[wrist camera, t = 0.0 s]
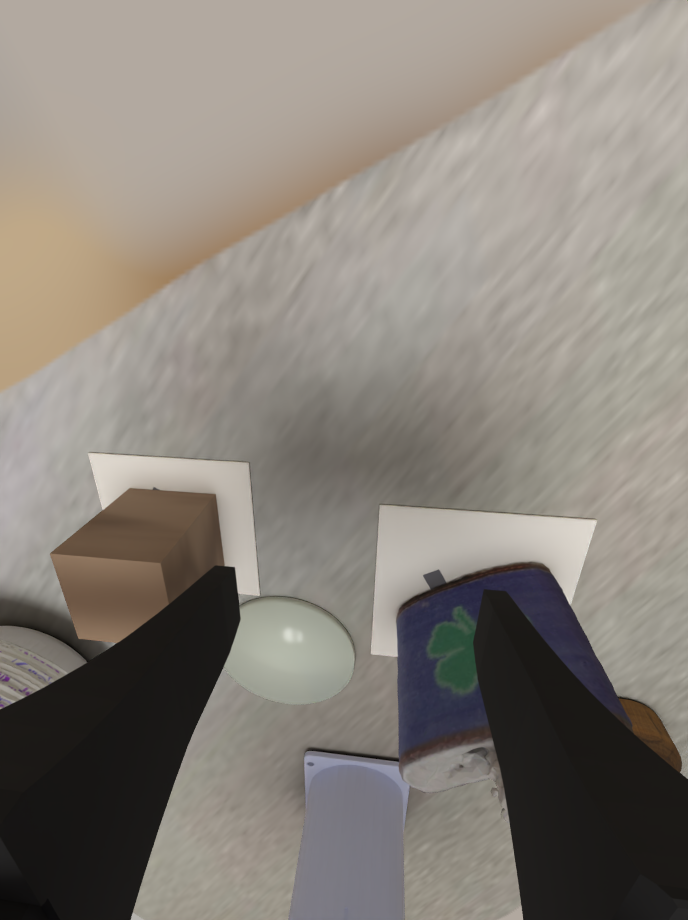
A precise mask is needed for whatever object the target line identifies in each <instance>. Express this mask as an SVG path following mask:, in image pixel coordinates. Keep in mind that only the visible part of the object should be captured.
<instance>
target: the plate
mask: <svg viewBox="0 0 688 920" xmlns="http://www.w3.org/2000/svg"><path fill="white" fill-rule="evenodd" d="M239 608H240V617H241V620H240V623H239V626H238V630H237V633H236V636H235V639H234V642H233V645H232V648H231V651H230V654H229V656H228V658H227V660H226V663H225V665H224V668H225V670H226V671H227V672H228V674H229V675H230V676H231V677H232V678H233V679H234V680H235V681H236V682H237V683H238V684H240V685H241V686H242V687H244V688H245V689H246V690H248V691H250V692H252V693H253V694H255V695H257V696H260V697H262V698H265V699H268V700H270V701H274V702H278V703H284V704H294V705H304V704H312V703H317V702H321V701H324V700H327V699H329V698H331V697H333V696H335V695H336V694H338V693H339V692H340V691H341V690H342V689H344V688H345V686H346V685H347V684H348V683H349V681H350V679H351V677H352V674H353V670H354V662H355V649H354V645H353V642H352V639H351V637H350V635H349V634H348V632H347V630H346V629H345V628H344V627H343V625H342V624H341V623H340V622H339V621H338V620H337V619H336V618H335V617H333V616H332V615H331V614H329V613H328V612H327V611H325V610H323V609H322V608H320V607H318V606H316V605H313V604H311V603H308V602H306V601H303V600H299V599H295V598H289V597H263V598H258V599H254V600H251V601H248V602H246V603H244V604H242V605H240V606H239Z"/></svg>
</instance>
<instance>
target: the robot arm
mask: <svg viewBox="0 0 688 920" xmlns="http://www.w3.org/2000/svg"><path fill="white" fill-rule="evenodd" d="M240 620H241V617H240V608H239V599H238V590H237V580H236V571H235V567H229V566H218V565H215V566H214V567H213V568H211V569H210V570H209V571H208V572H207V573H205V574H204V575H203V576H202V577H201V578H199V579H198V580H197V581H196V582H195V583H194V584H192V585H191V586H190V587H189V588H188V589H186V590H185V591H184V592H183V593H182V594H181V595H179V596H178V597H177V598H176V599H175V600H173V601H172V602H171V603H170V604H168V605H167V606H166V607H165V608H163V609H162V610H161V611H160V612H159V613H157V614H156V615H155V616H153V617H152V618H151V619H149V620H148V621H147V622H145V623H144V624H143V625H141V626H140V627H139V628H138V629H136V630H135V631H134V632H132V633H131V634H130V635H128V636H127V637H125V638H124V639H122V640H121V641H120V642H118V643H117V644H115V645H114V646H112V647H111V648H109V649H108V650H106V651H105V652H103V653H101V654H100V655H98V656H97V657H95V658H94V659H92V660H91V661H89V662H87V663H86V664H84V665H82V666H81V667H79V668H77V669H75V670H74V671H72V672H70V673H68V674H67V675H65V676H63V677H61V678H59V679H58V680H56V681H54V682H52V683H51V684H49V685H47V686H45V687H44V688H42V689H40V690H38V691H36V692H34V693H32V694H30V695H28V696H26V697H24V698H22V699H20V700H18V701H16V702H14V703H12V704H10V705H8V706H6V707H4V708H2V709H0V920H131V916H132V913H133V909H134V906H135V903H136V899H137V896H138V893H139V889H140V886H141V883H142V879H143V876H144V873H145V870H146V867H147V864H148V861H149V857H150V854H151V851H152V848H153V845H154V842H155V839H156V836H157V832H158V829H159V826H160V823H161V820H162V818H163V815H164V812H165V809H166V806H167V803H168V800H169V797H170V794H171V791H172V788H173V785H174V782H175V780H176V777H177V774H178V771H179V769H180V766H181V763H182V760H183V757H184V755H185V752H186V749H187V746H188V744H189V742H190V739H191V737H192V734H193V732H194V730H195V727H196V725H197V723H198V721H199V719H200V717H201V714H202V712H203V710H204V708H205V706H206V704H207V702H208V699H209V697H210V695H211V693H212V691H213V689H214V687H215V684H216V682H217V680H218V678H219V676H220V674H221V671H222V669H223V667H224V665H225V663H226V660H227V658H228V656H229V654H230V651H231V648H232V645H233V642H234V639H235V636H236V633H237V630H238V626H239V623H240ZM473 647H474V655H475V663H476V670H477V677H478V682H479V687H480V691H481V695H482V699H483V703H484V707H485V711H486V715H487V719H488V723H489V727H490V731H491V735H492V739H493V743H494V747H495V751H496V755H497V759H498V763H499V767H500V771H501V776H502V781H503V786H504V791H505V797H506V804H507V810H508V816H509V822H510V828H511V835H512V842H513V848H514V855H515V862H516V869H517V876H518V882H519V890H520V897H521V905H522V911H523V920H688V779H687V778H685V777H684V776H683V775H682V774H681V773H679V772H678V771H677V770H676V769H674V768H673V767H672V766H671V765H669V764H668V763H667V762H666V761H665V760H664V759H662V758H661V757H660V756H659V755H658V754H657V753H655V752H654V751H653V750H652V749H651V748H650V747H648V746H647V745H646V744H645V743H644V742H643V741H641V740H640V739H639V738H638V737H637V736H636V735H635V734H634V733H633V732H631V731H630V730H629V729H628V728H627V727H626V726H625V725H624V724H623V723H622V722H621V721H620V720H619V719H617V718H616V717H615V716H614V715H613V714H612V713H611V712H610V711H609V710H608V709H607V708H606V707H605V706H604V705H603V704H602V703H601V702H600V701H599V700H598V699H597V698H596V697H595V696H594V695H593V694H592V693H591V692H590V691H589V690H588V689H587V688H586V687H585V686H584V685H583V684H582V682H581V681H580V680H579V679H578V678H577V677H576V676H575V675H574V674H573V673H572V672H571V670H570V669H569V668H568V667H567V666H566V665H565V664H564V662H563V661H562V660H561V659H560V658H559V657H558V655H557V654H556V653H555V652H554V651H553V649H552V648H551V647H550V646H549V645H548V644H547V642H546V641H545V640H544V639H543V637H542V636H541V635H540V634H539V633H538V631H537V630H536V629H535V627H534V626H533V625H532V624H531V622H530V621H529V620H528V619H527V617H526V616H525V615H524V613H523V612H522V611H521V609H520V608H519V607H518V605H517V604H516V603H515V602H514V600H513V599H512V598H511V596H510V595H509V594H508V593H507V592H506V591H499V590H488V589H484V590H483V595H482V600H481V605H480V610H479V615H478V620H477V625H476V630H475V635H474V640H473ZM304 773H305V800H306V814H305V820H304V826H303V832H302V838H301V845H300V851H299V857H298V863H297V869H296V875H295V881H294V887H293V894H292V900H291V906H290V912H289V918H288V920H405V903H404V842H403V832H404V825H405V818H406V810H407V803H408V796H409V789H410V785H409V784H407V783H406V782H404V781H403V780H402V777H401V774H400V772H399V762H396V761H388V760H380V759H373V758H365V757H357V756H349V755H341V754H333V753H325V752H317V751H307V752H306V753H305V756H304Z"/></svg>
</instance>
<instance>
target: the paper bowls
mask: <svg viewBox="0 0 688 920" xmlns="http://www.w3.org/2000/svg"><path fill="white" fill-rule="evenodd" d="M86 663H87V661H86V660H85V659H84V658H83V657H82V656H81V655H80V654H78V653H77V652H76V651H75V650H74V649H72V648H71V647H70V646H68V645H66V644H65V643H63V642H62V641H60V640H58V639H56V638H54V637H52V636H50V635H47V634H45V633H42V632H39V631H36V630H33V629H29V628H24V627H18V626H0V709H2V708H4V707H6V706H8V705H10V704H12V703H14V702H16V701H18V700H20V699H22V698H24V697H26V696H28V695H30V694H32V693H34V692H36V691H38V690H40V689H42V688H44V687H45V686H47V685H49V684H51V683H52V682H54V681H56V680H58V679H59V678H61V677H63V676H65V675H67V674H68V673H70V672H72V671H74V670H75V669H77V668H79V667H81V666H82V665H84V664H86Z"/></svg>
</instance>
